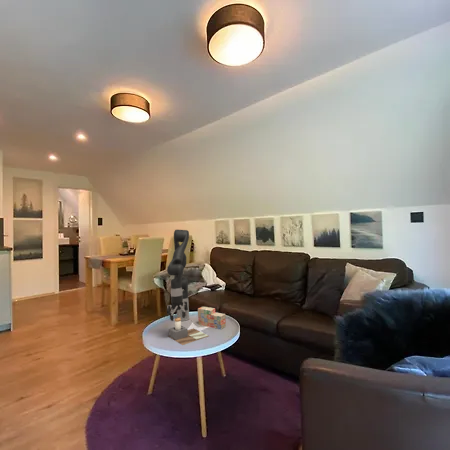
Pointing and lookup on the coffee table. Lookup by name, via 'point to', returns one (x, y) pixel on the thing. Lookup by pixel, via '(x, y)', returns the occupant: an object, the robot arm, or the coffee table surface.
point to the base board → (191, 337)
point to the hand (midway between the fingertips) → (177, 319)
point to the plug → (177, 323)
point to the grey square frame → (178, 333)
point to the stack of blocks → (211, 318)
